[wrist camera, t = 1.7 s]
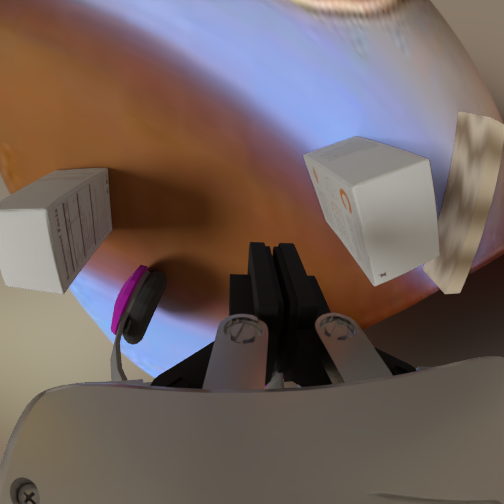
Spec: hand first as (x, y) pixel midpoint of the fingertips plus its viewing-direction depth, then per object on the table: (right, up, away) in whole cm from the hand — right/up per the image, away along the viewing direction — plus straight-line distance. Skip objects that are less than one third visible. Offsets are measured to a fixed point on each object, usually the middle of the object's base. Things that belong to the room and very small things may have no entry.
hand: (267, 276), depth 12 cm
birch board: (+25, +8, +19) cm, 33 cm away
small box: (+9, +9, +18) cm, 22 cm away
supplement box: (-19, +7, +17) cm, 26 cm away
